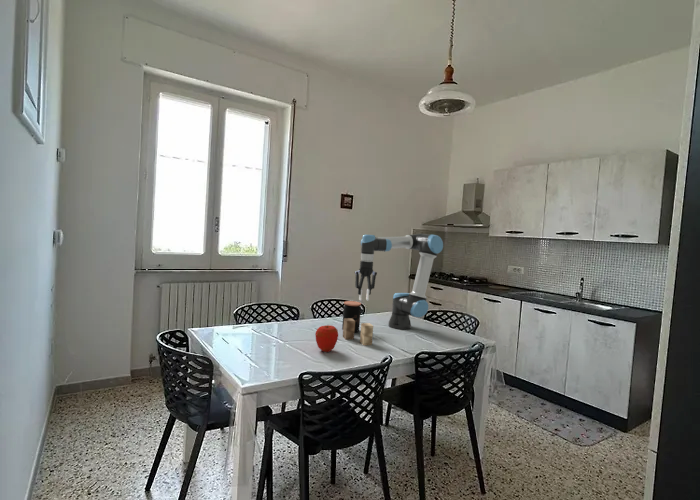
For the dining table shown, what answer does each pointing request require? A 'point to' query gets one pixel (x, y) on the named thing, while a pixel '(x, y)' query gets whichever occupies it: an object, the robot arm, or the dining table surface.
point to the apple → (326, 337)
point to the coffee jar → (352, 313)
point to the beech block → (366, 334)
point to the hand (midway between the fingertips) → (363, 300)
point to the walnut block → (348, 329)
